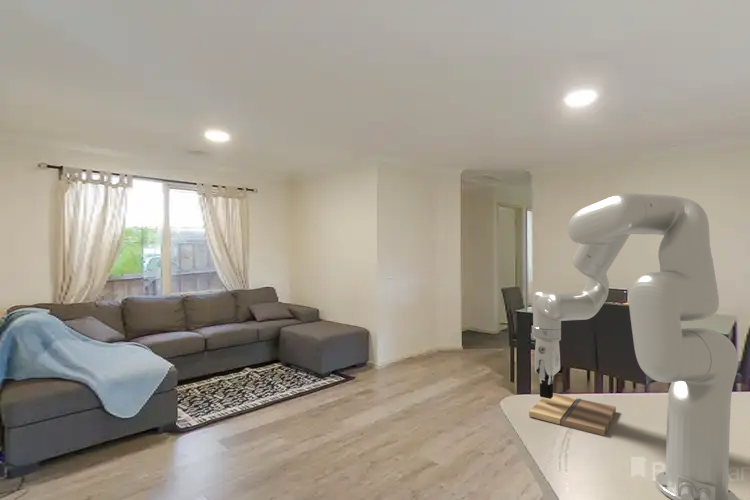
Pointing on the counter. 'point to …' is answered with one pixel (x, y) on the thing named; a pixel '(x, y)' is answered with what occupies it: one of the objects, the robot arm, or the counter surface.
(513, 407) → the counter surface
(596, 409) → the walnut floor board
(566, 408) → the oak plank
